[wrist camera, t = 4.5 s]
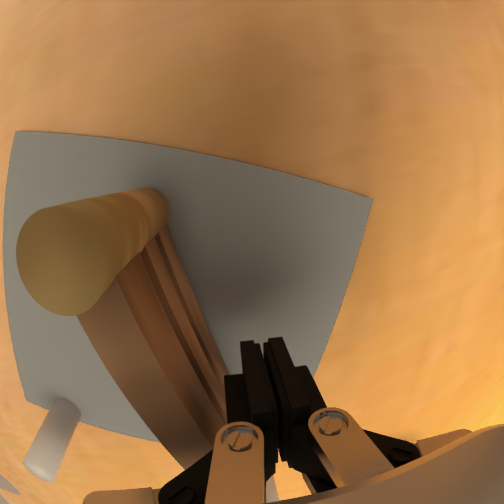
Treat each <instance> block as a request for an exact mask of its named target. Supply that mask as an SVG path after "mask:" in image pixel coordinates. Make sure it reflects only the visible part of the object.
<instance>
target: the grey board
mask: <svg viewBox="0 0 504 504" xmlns="http://www.w3.org/2000/svg"><path fill="white" fill-rule="evenodd" d="M141 188H153V189H156V190H158V191H159V192H161V193H162V194H163V195H164V196H165V197H166V199H167V201H168V203H169V206H170V217H169V221H168V223H167V224H168V227H169V230H170V232H171V235H172V238H173V241H174V243H175V246H176V249H177V251H178V254H179V257H180V259H181V262H182V264H183V267H184V270H185V272H186V275H187V277H188V280H189V282H190V285H191V287H192V290H193V292H194V295H195V297H196V299H197V302H198V304H199V307H200V309H201V311H202V314H203V316H204V318H205V321H206V323H207V325H208V328H209V330H210V332H211V335H212V337H213V339H214V341H215V344H216V346H217V348H218V350H219V352H220V355H221V357H222V359H223V361H224V363H225V366H226V368H227V370H228V372H229V374H230V375H233V374H243V373H242V362H241V352H240V341H249V340H254V343H260V347H261V350H262V354H263V342H268V338H274V337H283V340H284V342H285V344H286V347H287V349H288V352H289V354H290V356H291V359H292V361H293V364H294V366H295V367H296V366H302V365H306V366H307V367H308V369H309V371H310V373H311V375H312V377H314V374H315V372H316V370H317V367H318V365H319V362H320V360H321V357H322V355H323V353H324V350H325V347H326V345H327V342H328V340H329V337H330V335H331V332H332V329H333V327H334V324H335V321H336V318H337V316H338V313H339V310H340V307H341V304H342V301H343V299H344V296H345V293H346V290H347V287H348V284H349V281H350V277H351V274H352V271H353V268H354V265H355V261H356V258H357V255H358V252H359V248H360V245H361V241H362V238H363V234H364V231H365V227H366V223H367V219H368V216H369V212H370V208H371V204H372V200H373V199H371V198H368V197H365V196H362V195H359V194H356V193H353V192H350V191H346V190H343V189H340V188H337V187H334V186H330V185H327V184H324V183H320V182H317V181H313V180H310V179H306V178H303V177H299V176H296V175H292V174H288V173H284V172H281V171H277V170H273V169H269V168H265V167H261V166H257V165H253V164H249V163H244V162H240V161H236V160H231V159H227V158H222V157H217V156H213V155H208V154H203V153H198V152H193V151H187V150H182V149H177V148H171V147H165V146H159V145H153V144H147V143H140V142H134V141H126V140H119V139H111V138H103V137H94V136H85V135H74V134H63V133H49V132H32V131H15V135H14V140H13V145H12V151H11V156H10V162H9V169H8V176H7V184H6V194H5V206H4V223H3V266H4V284H5V296H6V305H7V313H8V321H9V327H10V333H11V339H12V344H13V349H14V354H15V359H16V363H17V368H18V372H19V376H20V379H21V383H22V387H23V390H24V394H25V397H26V400H27V401H29V402H31V403H33V404H35V405H38V406H40V407H42V408H45V409H47V410H50V411H49V413H48V414H47V416H46V418H45V420H44V422H43V424H42V425H41V427H40V429H39V431H38V433H37V435H36V437H35V439H34V441H33V443H32V445H31V447H30V449H29V451H28V453H27V455H26V457H25V459H24V461H23V464H24V466H25V467H26V468H27V469H28V470H29V471H30V472H31V473H32V474H34V475H35V476H37V477H38V478H40V479H42V480H44V481H47V482H54V481H55V478H56V476H57V473H58V470H59V468H60V465H61V462H62V460H63V457H64V455H65V452H66V450H67V447H68V445H69V442H70V440H71V438H72V435H73V433H74V430H75V428H76V426H77V423H78V421H79V422H82V423H86V424H89V425H92V426H95V427H98V428H102V429H105V430H109V431H112V432H116V433H120V434H124V435H128V436H132V437H136V438H141V439H145V440H150V441H155V442H160V441H159V440H158V439H157V438H156V436H155V435H154V434H153V433H152V431H151V430H150V429H149V428H148V426H147V425H146V424H145V423H144V421H143V420H142V419H141V417H140V416H139V415H138V413H137V412H136V411H135V409H134V408H133V407H132V405H131V404H130V403H129V401H128V400H127V398H126V397H125V396H124V394H123V393H122V391H121V390H120V388H119V387H118V385H117V384H116V382H115V381H114V379H113V378H112V376H111V375H110V373H109V372H108V370H107V369H106V367H105V365H104V364H103V362H102V360H101V359H100V357H99V355H98V354H97V352H96V350H95V349H94V347H93V345H92V344H91V342H90V340H89V338H88V336H87V335H86V333H85V331H84V329H83V327H82V325H81V324H80V322H79V320H78V318H77V316H61V315H57V314H54V313H52V312H50V311H48V310H46V309H45V308H43V307H42V306H40V305H39V304H38V303H37V302H36V301H35V300H34V299H33V298H32V297H31V295H30V294H29V293H28V291H27V289H26V288H25V286H24V284H23V282H22V280H21V277H20V274H19V271H18V267H17V261H16V245H17V239H18V236H19V233H20V230H21V228H22V226H23V224H24V223H25V221H26V220H27V219H28V218H29V217H30V216H31V215H32V214H33V213H35V212H36V211H38V210H40V209H43V208H47V207H51V206H55V205H60V204H64V203H68V202H73V201H77V200H82V199H87V198H92V197H97V196H102V195H107V194H112V193H118V192H123V191H129V190H135V189H141ZM263 358H264V356H263ZM160 443H161V442H160ZM278 451H279V449H278ZM266 500H267V503H269V502H275V501H279V498H278V493H277V489H276V485H275V480H274V476H273V475H272V476H271V477H270V478H269V480H268V481H267V482H266Z"/></svg>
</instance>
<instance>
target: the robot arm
mask: <svg viewBox="0 0 504 504" xmlns="http://www.w3.org/2000/svg"><path fill="white" fill-rule="evenodd" d="M240 352H241V362H242V373H243V374H233V375H224V386H225V400H226V413H227V425H225V426H224V427H222V428H221V429H220V430H219V431H218V432H217V435H216V437H215V443H214V448H213V449H212V450H211V451H210V452H208V453H207V454H206V455H205V456H203V457H202V458H201V459H199V460H198V461H197V462H195V463H194V464H193V465H191V466H190V467H189V468H187V469H186V470H185V471H183V472H182V473H181V474H179V475H178V476H176V477H175V478H174V479H172V480H171V481H169V482H168V483H166V484H165V485H164V486H163V487H162V488H161V489H153V490H152V488H151V487H149V488H139V489H127V490H109V491H95V492H91V493H90V494H88V495H87V496H86V497H85V498H84V500H83V504H504V424H498V425H494V426H489V427H486V428H482V429H479V430H477V431H474V432H472V431H470V430H466V429H460V430H456V431H452V432H449V433H445V434H442V435H438V436H434V437H430V438H426V439H421V440H417V442H416V443H415V444H412V443H410V442H407V441H404V440H400V439H396V438H392V437H388V436H385V435H381V434H377V433H374V432H371V431H367V430H364V429H362V428H361V427H360V426H359V425H358V423H357V422H356V421H355V420H354V419H353V417H352V416H351V415H350V414H349V413H348V412H347V411H344V410H342V409H339V408H335V407H328V408H327V406H326V404H325V402H324V400H323V398H322V396H321V394H320V392H319V390H318V387H317V385H316V383H315V381H314V379H313V377H312V375H311V373H310V371H309V369H308V367H307V366H306V365H302V366H296V367H295V366H294V364H293V361H292V359H291V356H290V354H289V352H288V349H287V347H286V344H285V342H284V340H283V337H274V338H268V342H263V354H262V350H261V347H260V343H254V340H249V341H240ZM263 356H264V358H263ZM278 449H279V453H280V457H281V460H282V462H284V461H287V462H288V466H289V468H293V469H295V470H297V471H299V472H301V473H302V476H303V479H304V480H305V482H306V484H307V486H308V488H309V490H310V491H311V493H312V495H308V496H303V497H298V498H293V499H287V500H282V501H275V502H269V503H266V482H267V481H268V480H269V478H270V477H271V476H272V475H273V474H274V473H275V463H278Z"/></svg>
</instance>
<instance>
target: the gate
mask: <svg viewBox="0 0 504 504" xmlns="http://www.w3.org/2000/svg"><path fill="white" fill-rule="evenodd" d="M169 217H170V206H169V203H168V201H167V199H166V197H165V196H164V195H163V194H162V193H161V192H159V191H158V190H156V189H153V188H141V189H135V190H129V191H123V192H118V193H112V194H107V195H102V196H97V197H92V198H87V199H82V200H77V201H73V202H68V203H64V204H60V205H55V206H51V207H47V208H43V209H40V210H38V211H36V212H35V213H33V214H32V215H31V216H30V217H29V218H28V219H27V220H26V221H25V223H24V224H23V226H22V228H21V230H20V233H19V236H18V239H17V245H16V261H17V267H18V271H19V274H20V277H21V280H22V282H23V284H24V286H25V288H26V289H27V291H28V293H29V294H30V295H31V297H32V298H33V299H34V300H35V301H36V302H37V303H38V304H39V305H40V306H42V307H43V308H45V309H46V310H48V311H50V312H52V313H54V314H57V315H61V316H77V318H78V320H79V322H80V324H81V325H82V327H83V329H84V331H85V333H86V335H87V336H88V338H89V340H90V342H91V344H92V345H93V347H94V349H95V350H96V352H97V354H98V355H99V357H100V359H101V360H102V362H103V364H104V365H105V367H106V369H107V370H108V372H109V373H110V375H111V376H112V378H113V379H114V381H115V382H116V384H117V385H118V387H119V388H120V390H121V391H122V393H123V394H124V396H125V397H126V398H127V400H128V401H129V403H130V404H131V405H132V407H133V408H134V409H135V411H136V412H137V413H138V415H139V416H140V417H141V419H142V420H143V421H144V423H145V424H146V425H147V426H148V428H149V429H150V430H151V431H152V433H153V434H154V435H155V436H156V438H157V439H158V440H159V441H160V442H161V443H162V445H163V446H164V447H165V448H166V449H167V450H168V452H169V453H170V454H171V455H172V456H173V457H174V458H175V459H176V460H177V462H178V463H179V464H180V465H181V466H182V467H183V468H184V469H185V470H186V469H187V468H189V467H190V466H191V465H193V464H194V463H195V462H197V461H198V460H199V459H201V458H202V457H203V456H205V455H206V454H207V453H208V452H210V451H211V450H212V449H213V448H214V443H215V437H216V435H217V432H218V431H219V430H220V429H221V428H222V427H224V426H225V425H227V413H226V400H225V386H224V375H230V374H229V372H228V370H227V368H226V366H225V363H224V361H223V359H222V357H221V355H220V352H219V350H218V348H217V346H216V344H215V341H214V339H213V337H212V335H211V332H210V330H209V328H208V325H207V323H206V321H205V318H204V316H203V314H202V311H201V309H200V307H199V304H198V302H197V299H196V297H195V295H194V292H193V290H192V287H191V285H190V282H189V280H188V277H187V275H186V272H185V270H184V267H183V264H182V262H181V259H180V257H179V254H178V251H177V249H176V246H175V243H174V241H173V238H172V235H171V232H170V230H169V227H168V224H167V223H168V221H169ZM266 503H267V500H266Z"/></svg>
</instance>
